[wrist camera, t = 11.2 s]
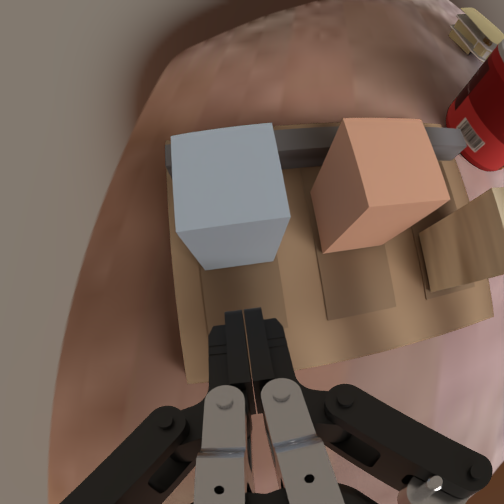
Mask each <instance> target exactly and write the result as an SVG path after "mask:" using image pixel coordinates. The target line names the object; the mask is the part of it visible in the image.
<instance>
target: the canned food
mask: <svg viewBox="0 0 504 504" xmlns="http://www.w3.org/2000/svg"><path fill="white" fill-rule="evenodd" d="M446 126H447V128H454V129H460V130H461V132H462V135H463V137H464V139H465V142H466V144H467V147H466V148H465V149H464V150H462V151H461V152H460V153H461V154H462V155H463V156H464V157H465V158H466V159H467V160H468V161H469V162H470V163H472V164H473V165H474V166H476V167H478V168H479V169H482V170H484V171H490V172H491V171H496V170H501V169H502V168H504V39H503V40H502V41H501V42H500V43H499V44H498V45H497V46H496V48H495V49H494V50H493V51H492V53H491V54H490V55H489V57H488V58H487V59H486V61H485V62H484V63H483V64H482V66H481V67H480V68H479V70H478V71H477V72H476V74H475V75H474V76H473V77H472V79H471V80H470V81H469V83H468V84H467V85H466V86H465V88H464V89H463V90H462V91H461V93H460V94H459V95H458V96H457V98H456V99H455V100H454V101H453V103H452V104H451V105H450V107H449V109H448V112H447V116H446Z"/></svg>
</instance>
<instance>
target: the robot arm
mask: <svg viewBox="0 0 504 504" xmlns="http://www.w3.org/2000/svg"><path fill="white" fill-rule="evenodd" d="M224 314H225V325H217V326H213V327H212V329H211V331H210V333H209V335H208V347H209V348H208V355H209V357H208V361H209V390H208V393H207V395H206V397H205V398H204V399H203V400H202V401H201V402H200V403H198V404H197V405H194V406H192V407H189V408H187V409H184V410H181V411H180V410H179V409H178V408H176V407H173V406H163V407H159V408H157V409H156V410H154V411H153V412H152V413H151V414H150V415H149V416H148V417H147V418H146V419H145V420H144V421H143V422H142V423H141V424H140V425H139V426H138V427H137V428H136V429H135V430H134V431H133V432H132V433H131V434H130V435H129V436H128V437H127V438H126V439H125V440H124V441H123V442H122V443H121V444H120V445H119V446H118V447H117V448H116V449H115V450H114V451H113V452H112V453H111V454H110V455H109V456H108V457H107V458H106V459H105V460H104V461H103V462H102V463H101V464H100V465H99V466H98V467H97V468H96V469H95V470H94V471H93V472H92V473H91V474H90V475H89V476H88V477H87V478H86V479H85V480H84V481H83V482H82V483H81V484H80V485H79V486H78V487H77V488H76V489H75V490H74V491H72V492H71V493H70V494H69V495H68V496H67V497H66V498H65V499H64V500H63V501H62V502H61V503H60V504H162V503H163V502H164V500H165V499H166V498H167V497H168V496H169V495H170V494H171V493H172V492H173V490H174V489H175V488H176V487H177V486H178V485H179V484H180V483H181V481H182V480H183V479H184V478H185V477H186V476H187V475H188V473H189V472H190V471H191V470H192V469H193V468H194V466H195V465H196V470H195V487H194V502H193V503H191V504H378V503H376V502H375V501H373V500H372V499H370V498H369V497H367V496H366V495H364V494H363V493H361V492H360V491H358V490H356V489H354V488H352V487H350V486H347V485H344V484H339V483H337V480H336V477H335V474H334V472H333V469H332V466H331V463H330V460H329V457H328V454H327V452H326V449H325V446H327V447H328V448H330V449H331V450H333V451H334V452H336V453H337V454H339V455H340V456H342V457H343V458H345V459H346V460H348V461H350V462H351V463H353V464H354V465H356V466H357V467H359V468H361V469H362V470H364V471H366V472H367V473H369V474H370V475H372V476H374V477H375V478H377V479H379V480H380V481H382V482H384V483H386V484H387V485H389V486H391V487H393V488H394V489H396V490H398V491H399V493H398V497H397V501H398V504H465V503H466V501H467V500H468V498H469V497H470V496H471V495H473V494H474V493H476V492H478V491H479V490H481V489H482V488H484V487H485V486H486V485H487V484H488V483H489V481H490V479H491V477H492V465H491V463H490V461H489V460H488V459H487V458H486V457H485V456H483V455H481V454H479V453H477V452H475V451H473V450H471V449H469V448H467V447H465V446H463V445H461V444H459V443H457V442H455V441H453V440H451V439H449V438H447V437H445V436H444V435H442V434H440V433H438V432H436V431H434V430H432V429H430V428H428V427H427V426H425V425H423V424H421V423H419V422H417V421H415V420H414V419H412V418H410V417H408V416H406V415H405V414H403V413H401V412H399V411H397V410H396V409H394V408H392V407H390V406H389V405H387V404H385V403H383V402H382V401H380V400H378V399H376V398H375V397H373V396H371V395H369V394H368V393H366V392H364V391H363V390H361V389H359V388H357V387H356V386H353V385H350V384H340V385H337V386H335V387H333V388H331V389H330V390H329V391H318V390H311V389H308V388H306V387H304V386H303V385H301V384H300V383H299V382H298V381H297V379H296V377H295V373H294V369H293V365H292V361H291V357H290V353H289V349H288V345H287V340H286V337H285V332H284V328H283V326H282V324H281V323H280V322H279V321H278V320H277V319H276V318H271V319H263V314H262V309H261V307H258V308H250V309H244V317H245V325H246V333H247V340H246V333H245V326H244V320H243V313H242V310H235V311H227V312H225V313H224ZM247 341H248V348H249V356H250V363H249V356H248V348H247ZM250 364H251V371H250ZM251 372H252V379H253V386H254V392H255V399H256V405H257V411H258V414H260V413H263V417H264V424H265V431H266V435H267V439H268V443H269V447H270V451H271V455H272V459H273V463H274V467H275V471H276V476H277V481H278V485H279V490H276V491H274V492H271V493H268V494H259V493H255V485H254V477H253V454H252V420H251V415H253V414H256V409H255V402H254V394H253V387H252V379H251ZM324 445H325V446H324Z"/></svg>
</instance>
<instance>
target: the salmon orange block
mask: <svg viewBox="0 0 504 504" xmlns="http://www.w3.org/2000/svg"><path fill="white" fill-rule="evenodd" d="M310 194H311V198H312V203H313V208H314V213H315V217H316V222H317V227H318V232H319V237H320V243H321V248H322V253H323V254H324V253H331V252H338V251H345V250H352V249H359V248H366V247H373V246H380V245H383V244H384V243H386V242H388V241H389V240H391V239H392V238H394V237H395V236H397V235H398V234H400V233H402V232H403V231H405V230H406V229H408V228H409V227H411V226H412V225H414V224H415V223H417V222H418V221H420V220H421V219H423V218H424V217H426V216H427V215H429V214H430V213H432V212H433V211H435V210H436V209H438V208H439V207H440V206H442V205H443V204H445V203H446V202H448V201H449V200H450V196H449V193H448V190H447V187H446V184H445V181H444V178H443V175H442V172H441V169H440V166H439V163H438V161H437V158H436V155H435V153H434V150H433V147H432V145H431V142H430V140H429V137H428V135H427V132H426V130H425V127H424V125H423V123H422V120H421V119H403V118H343V119H342V121H341V124H340V126H339V128H338V131H337V133H336V135H335V137H334V140H333V142H332V144H331V147H330V149H329V151H328V153H327V156H326V158H325V160H324V162H323V165H322V167H321V169H320V171H319V174H318V176H317V178H316V180H315V182H314V185H313V187H312V189H311V191H310Z"/></svg>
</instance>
